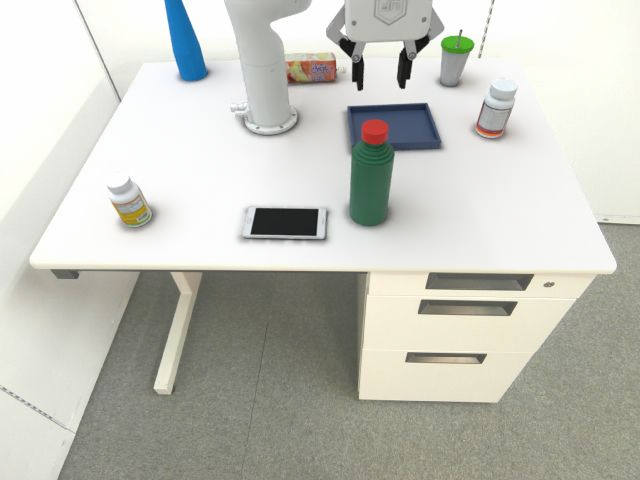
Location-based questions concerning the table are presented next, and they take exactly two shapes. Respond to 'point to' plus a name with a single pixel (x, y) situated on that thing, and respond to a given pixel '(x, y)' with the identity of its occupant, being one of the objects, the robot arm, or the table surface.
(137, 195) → the supplement bottle
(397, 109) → the tray
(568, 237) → the table surface
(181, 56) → the bottle
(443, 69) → the cup
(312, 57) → the juice carton
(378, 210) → the water bottle
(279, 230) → the smartphone
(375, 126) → the cap
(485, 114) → the pill bottle
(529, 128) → the table surface
